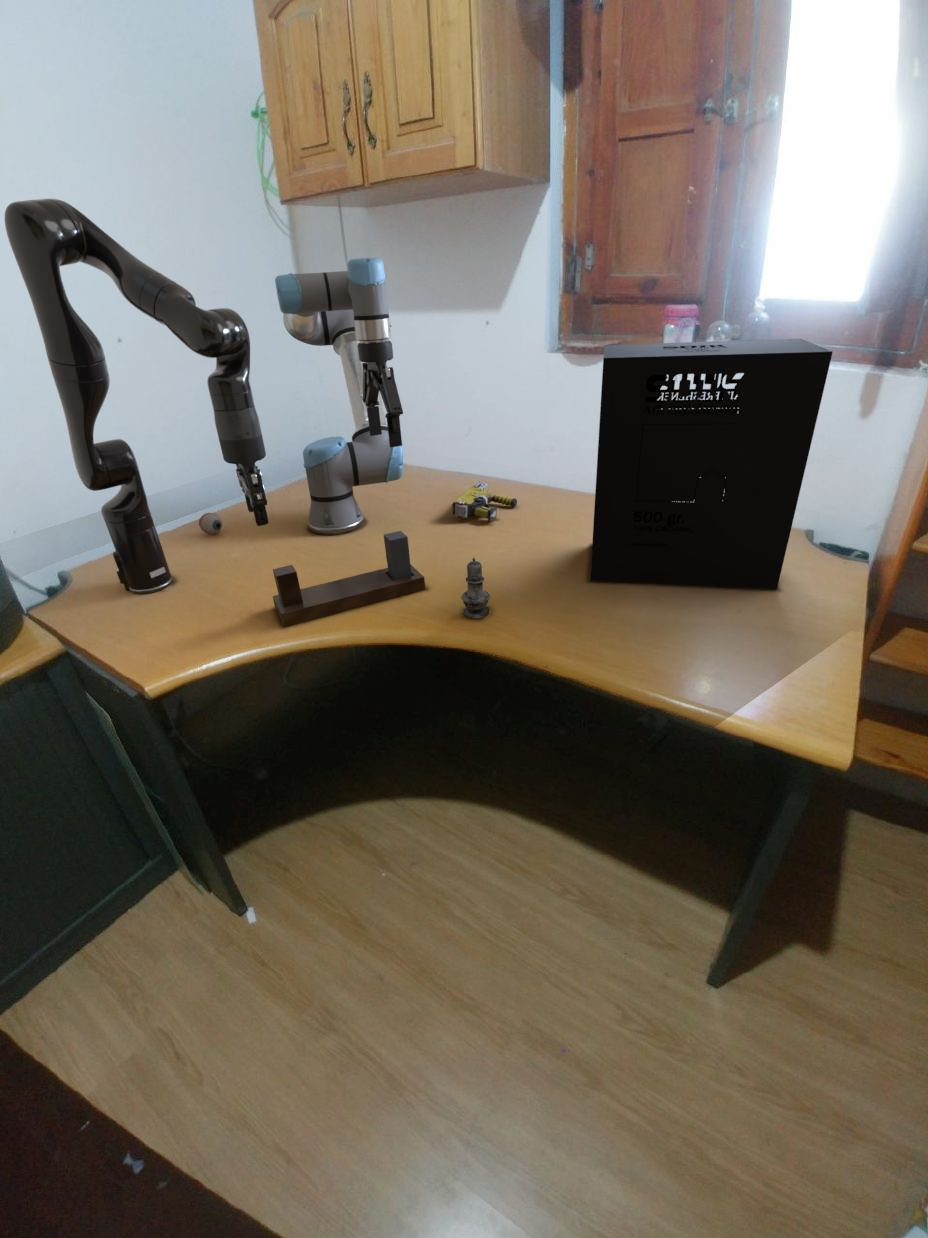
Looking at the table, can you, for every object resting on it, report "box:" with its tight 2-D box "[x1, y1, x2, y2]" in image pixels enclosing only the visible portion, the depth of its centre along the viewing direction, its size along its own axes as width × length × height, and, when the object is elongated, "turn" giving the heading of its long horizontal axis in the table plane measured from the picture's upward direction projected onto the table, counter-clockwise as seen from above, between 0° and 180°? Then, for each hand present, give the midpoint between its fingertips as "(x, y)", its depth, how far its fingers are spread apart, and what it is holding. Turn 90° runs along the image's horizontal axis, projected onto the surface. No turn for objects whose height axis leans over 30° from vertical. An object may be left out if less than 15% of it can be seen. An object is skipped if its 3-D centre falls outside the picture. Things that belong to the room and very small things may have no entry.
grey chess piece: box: [460, 557, 491, 619], centre depth 119 cm, size 6×6×12 cm
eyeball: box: [198, 512, 223, 536], centre depth 167 cm, size 6×6×6 cm
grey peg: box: [383, 530, 412, 581], centre depth 132 cm, size 4×4×12 cm
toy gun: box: [451, 480, 518, 523], centre depth 174 cm, size 5×24×15 cm
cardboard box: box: [589, 338, 834, 590], centre depth 125 cm, size 38×20×45 cm, turn 78°
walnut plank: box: [272, 563, 426, 627], centre depth 128 cm, size 31×9×10 cm, turn 116°
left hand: (258, 517), depth 117 cm, fingers open, 8 cm apart
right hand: (385, 440), depth 141 cm, fingers open, 13 cm apart
